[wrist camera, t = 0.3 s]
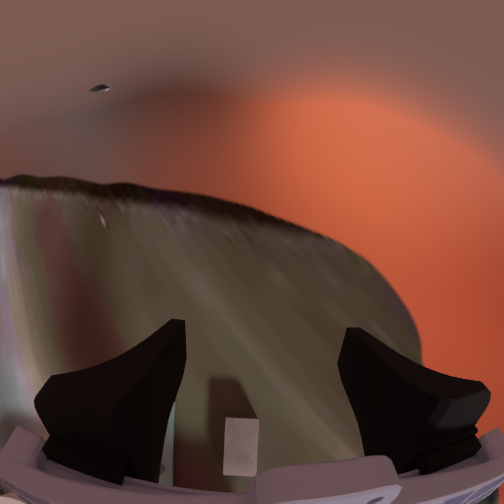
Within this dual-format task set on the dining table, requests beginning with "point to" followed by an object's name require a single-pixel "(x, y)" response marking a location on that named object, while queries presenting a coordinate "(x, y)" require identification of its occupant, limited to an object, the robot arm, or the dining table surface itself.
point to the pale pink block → (240, 444)
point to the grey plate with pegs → (168, 452)
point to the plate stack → (10, 499)
